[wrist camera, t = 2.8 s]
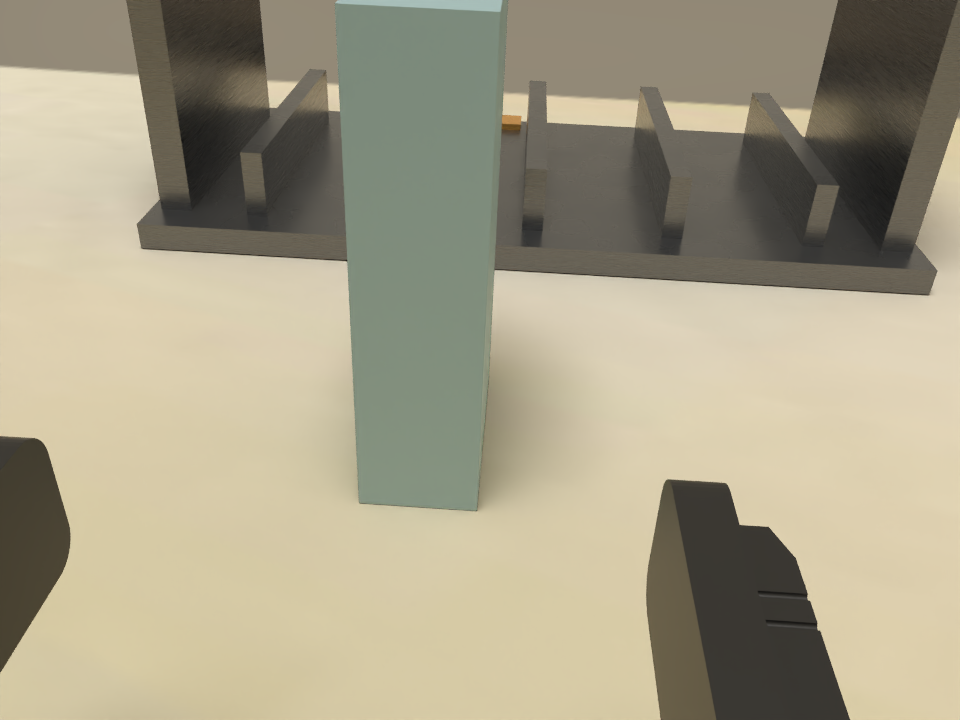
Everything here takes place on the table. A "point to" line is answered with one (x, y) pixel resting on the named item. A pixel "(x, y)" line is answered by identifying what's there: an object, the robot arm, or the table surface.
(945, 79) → the rack
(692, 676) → the robot arm
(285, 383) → the table surface
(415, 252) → the tall pale blue pillar
